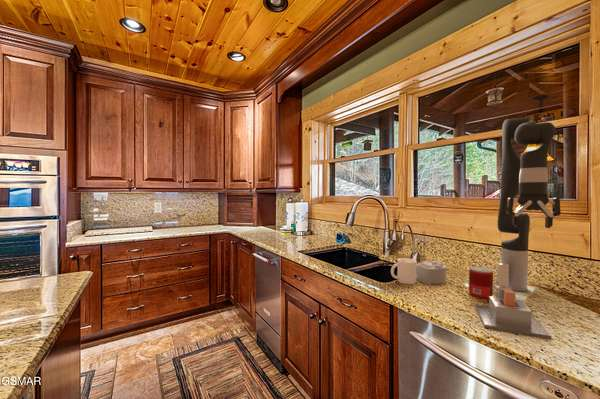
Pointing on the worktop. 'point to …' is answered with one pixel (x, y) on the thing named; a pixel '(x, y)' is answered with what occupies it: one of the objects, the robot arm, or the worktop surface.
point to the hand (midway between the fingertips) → (531, 227)
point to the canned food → (480, 282)
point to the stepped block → (509, 298)
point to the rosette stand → (509, 311)
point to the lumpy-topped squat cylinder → (431, 272)
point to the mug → (405, 271)
